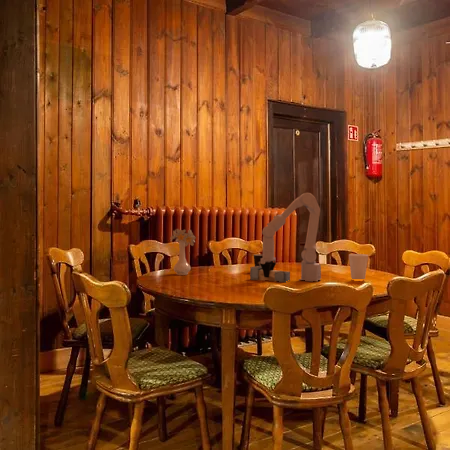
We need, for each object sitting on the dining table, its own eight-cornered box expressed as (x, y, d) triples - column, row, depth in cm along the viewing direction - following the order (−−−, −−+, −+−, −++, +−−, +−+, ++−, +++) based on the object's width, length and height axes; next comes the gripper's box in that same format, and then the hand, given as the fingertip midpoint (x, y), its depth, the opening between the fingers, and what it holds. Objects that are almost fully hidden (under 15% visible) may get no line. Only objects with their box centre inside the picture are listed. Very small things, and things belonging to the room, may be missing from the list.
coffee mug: (251, 272, 269) (251, 255, 269) (257, 271, 277) (257, 254, 277) (270, 274, 264) (270, 256, 264) (275, 272, 272) (276, 254, 271)
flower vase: (183, 277, 251) (183, 229, 250) (164, 273, 264) (164, 228, 264) (203, 275, 259) (203, 229, 258) (183, 271, 273) (183, 228, 272)
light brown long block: (281, 280, 240) (281, 270, 240) (278, 281, 237) (278, 271, 237) (259, 279, 246) (259, 269, 245) (256, 279, 242) (256, 270, 242)
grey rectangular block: (263, 278, 246) (263, 266, 246) (257, 280, 240) (257, 267, 240) (255, 278, 248) (255, 265, 248) (250, 279, 242) (250, 267, 242)
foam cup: (363, 282, 234) (363, 256, 234) (345, 280, 240) (345, 255, 240) (370, 280, 242) (370, 254, 242) (353, 278, 248) (353, 253, 247)
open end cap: (289, 280, 239) (290, 271, 239) (284, 282, 233) (285, 273, 233) (279, 280, 242) (279, 271, 242) (274, 281, 236) (274, 272, 236)
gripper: (266, 248, 249) (266, 274, 250) (255, 250, 236) (254, 277, 237) (279, 249, 246) (279, 275, 246) (268, 251, 233) (267, 278, 233)
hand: (268, 276), depth 241 cm, fingers closed on light brown long block, 3 cm apart
